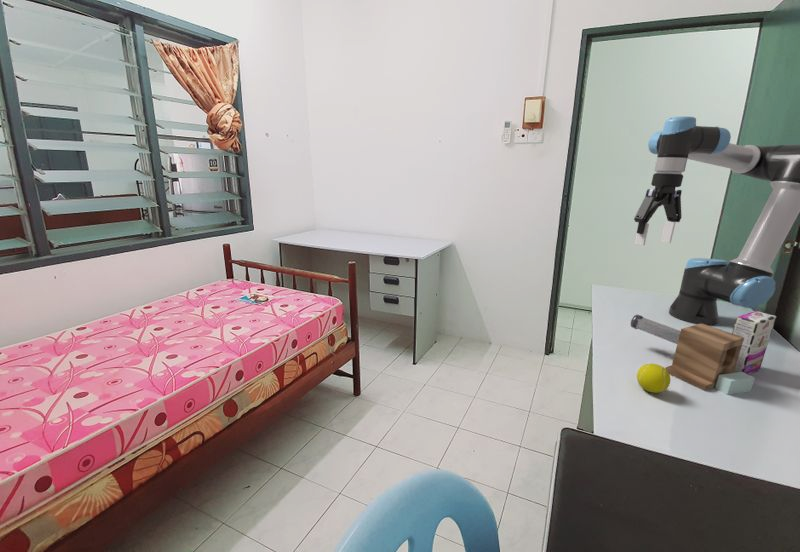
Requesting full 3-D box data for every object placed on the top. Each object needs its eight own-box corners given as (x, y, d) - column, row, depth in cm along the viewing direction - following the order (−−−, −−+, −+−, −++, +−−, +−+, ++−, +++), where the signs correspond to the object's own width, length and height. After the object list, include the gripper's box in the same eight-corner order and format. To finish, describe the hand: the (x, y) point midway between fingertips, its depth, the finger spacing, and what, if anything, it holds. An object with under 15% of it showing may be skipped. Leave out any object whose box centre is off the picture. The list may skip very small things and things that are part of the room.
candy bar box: (739, 361, 114) (755, 310, 110) (760, 369, 110) (778, 316, 105) (720, 369, 109) (736, 315, 105) (741, 378, 105) (759, 322, 100)
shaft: (638, 326, 122) (641, 313, 121) (714, 356, 104) (719, 341, 103) (629, 328, 120) (632, 315, 119) (705, 359, 102) (710, 344, 101)
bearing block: (696, 361, 114) (707, 321, 110) (736, 377, 105) (750, 335, 102) (664, 372, 106) (674, 330, 103) (704, 390, 98) (718, 346, 94)
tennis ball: (631, 390, 97) (637, 365, 95) (637, 379, 102) (642, 355, 100) (664, 401, 93) (671, 376, 91) (668, 389, 98) (674, 365, 96)
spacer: (742, 371, 100) (754, 377, 98) (737, 385, 102) (750, 391, 99) (718, 374, 98) (731, 381, 96) (714, 388, 100) (726, 395, 97)
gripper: (679, 173, 123) (664, 238, 129) (630, 171, 112) (616, 243, 118) (705, 174, 117) (688, 243, 123) (656, 172, 106) (640, 247, 112)
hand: (652, 243), depth 120 cm, fingers open, 13 cm apart
